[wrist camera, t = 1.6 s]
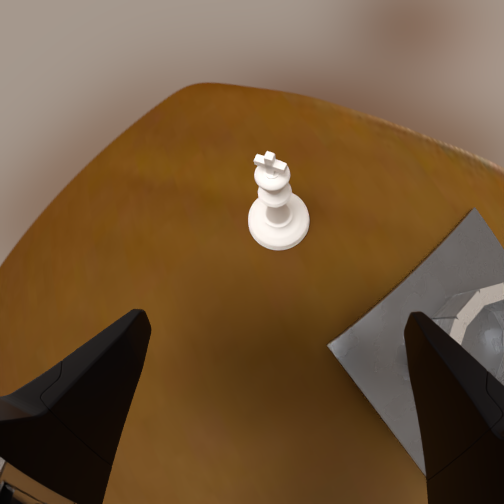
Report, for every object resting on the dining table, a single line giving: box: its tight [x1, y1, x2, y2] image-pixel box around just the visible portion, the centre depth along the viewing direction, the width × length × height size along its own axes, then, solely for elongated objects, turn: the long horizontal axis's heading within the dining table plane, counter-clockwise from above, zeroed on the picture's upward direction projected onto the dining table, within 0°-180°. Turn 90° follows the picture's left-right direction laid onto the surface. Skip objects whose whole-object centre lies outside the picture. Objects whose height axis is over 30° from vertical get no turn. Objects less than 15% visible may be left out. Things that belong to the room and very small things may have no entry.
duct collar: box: [327, 207, 504, 477], centre depth 17 cm, size 18×18×5 cm
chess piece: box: [248, 151, 310, 250], centre depth 19 cm, size 5×5×10 cm
